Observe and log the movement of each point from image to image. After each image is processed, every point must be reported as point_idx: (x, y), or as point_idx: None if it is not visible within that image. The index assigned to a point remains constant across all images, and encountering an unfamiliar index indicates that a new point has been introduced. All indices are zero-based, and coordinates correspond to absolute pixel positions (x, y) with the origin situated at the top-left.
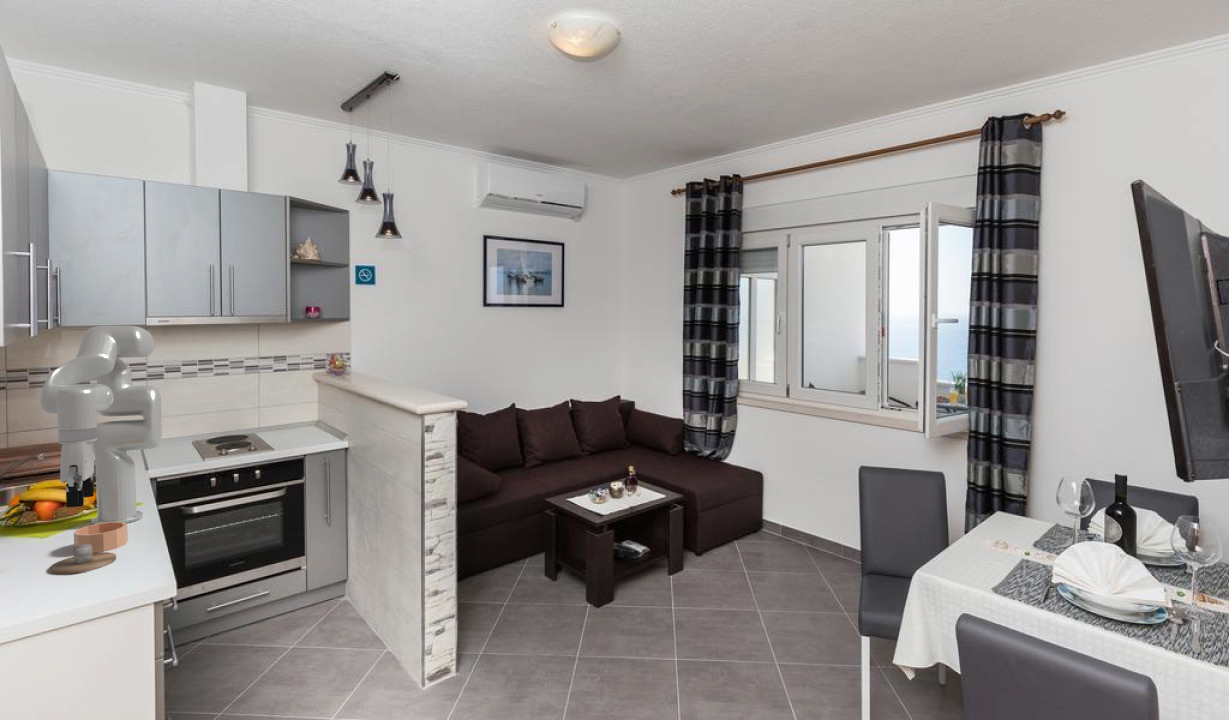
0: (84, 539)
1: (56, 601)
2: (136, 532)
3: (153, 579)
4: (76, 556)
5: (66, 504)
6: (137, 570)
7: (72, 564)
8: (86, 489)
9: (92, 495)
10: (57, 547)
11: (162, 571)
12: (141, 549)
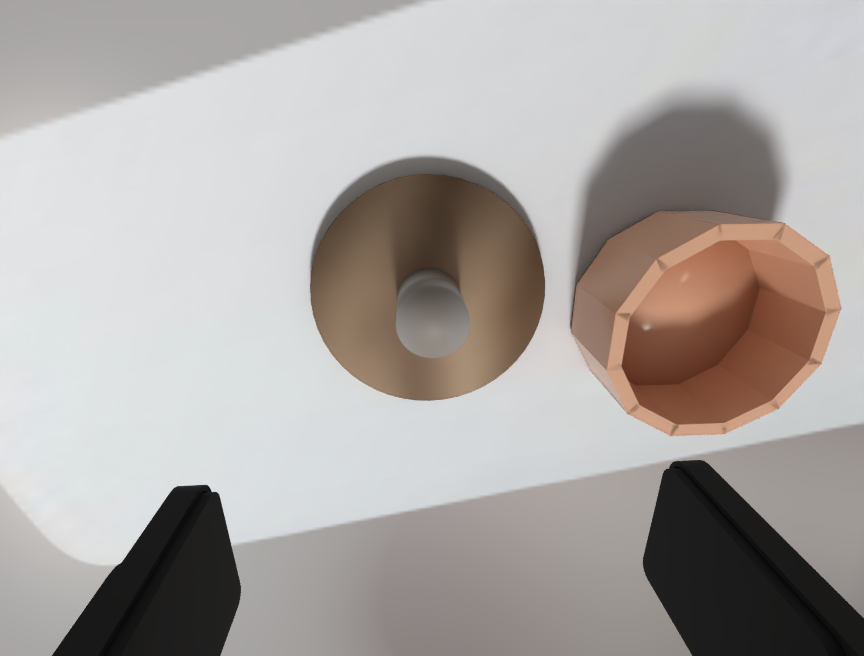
0: (622, 282)
1: (3, 305)
2: None
3: None
4: (403, 291)
5: (160, 509)
6: (269, 479)
7: (413, 263)
8: (712, 618)
9: (649, 575)
10: (795, 108)
11: None
12: (523, 448)
